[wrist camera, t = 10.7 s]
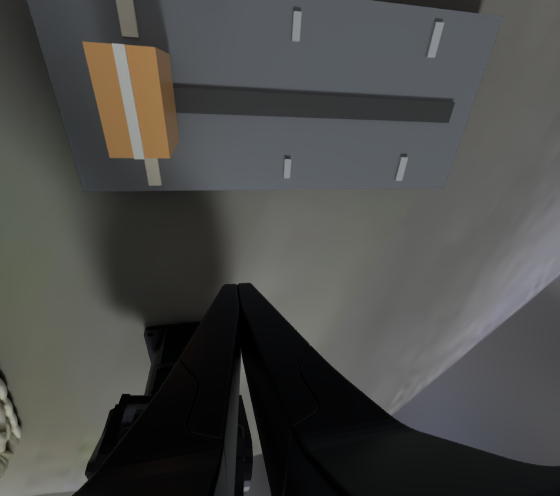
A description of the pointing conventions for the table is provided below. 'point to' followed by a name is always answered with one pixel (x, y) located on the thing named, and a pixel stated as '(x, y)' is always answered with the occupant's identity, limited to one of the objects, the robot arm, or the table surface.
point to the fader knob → (134, 99)
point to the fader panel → (278, 90)
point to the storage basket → (7, 430)
